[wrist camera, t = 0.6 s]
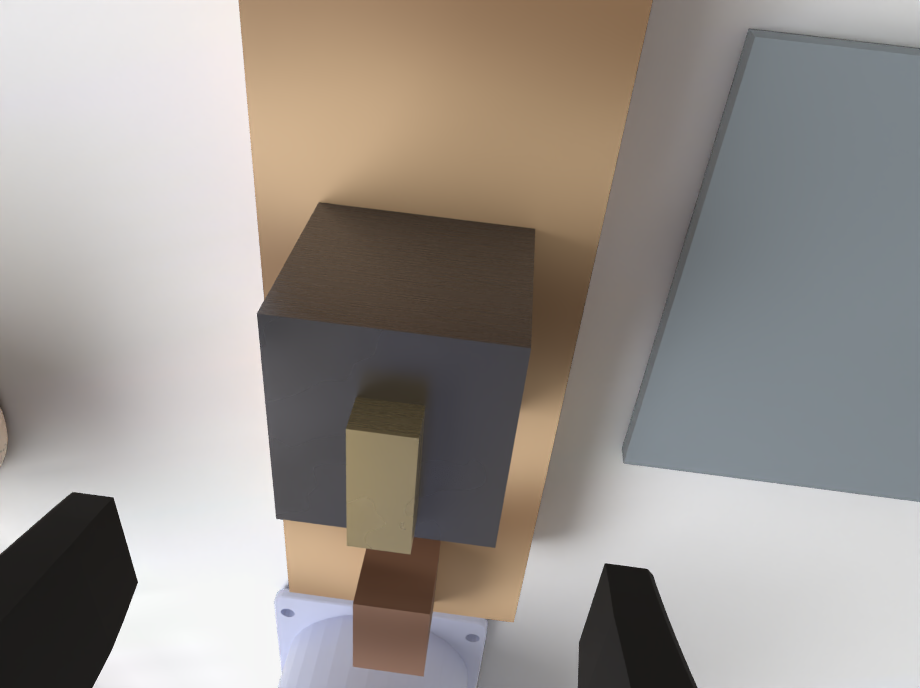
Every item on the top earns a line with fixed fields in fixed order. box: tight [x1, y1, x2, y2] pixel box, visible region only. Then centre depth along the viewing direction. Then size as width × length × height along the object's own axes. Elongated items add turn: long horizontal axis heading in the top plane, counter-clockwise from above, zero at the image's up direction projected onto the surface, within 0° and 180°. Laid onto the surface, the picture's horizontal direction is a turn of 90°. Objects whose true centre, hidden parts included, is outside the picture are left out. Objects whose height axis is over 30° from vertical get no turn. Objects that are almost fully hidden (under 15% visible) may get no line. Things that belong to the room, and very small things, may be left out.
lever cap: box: [257, 202, 535, 554], centre depth 15 cm, size 5×4×5 cm
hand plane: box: [239, 0, 653, 677], centre depth 17 cm, size 22×7×5 cm, turn 175°
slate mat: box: [622, 29, 920, 502], centre depth 19 cm, size 12×10×1 cm
